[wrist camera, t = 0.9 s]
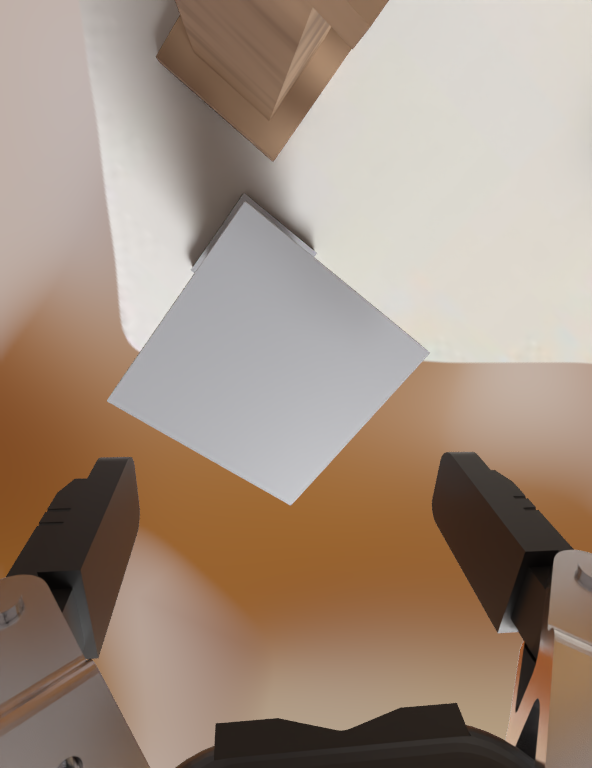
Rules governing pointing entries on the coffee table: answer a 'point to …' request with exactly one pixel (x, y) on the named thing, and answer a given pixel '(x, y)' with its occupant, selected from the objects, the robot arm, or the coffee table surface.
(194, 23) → the tall pillar
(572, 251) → the coffee table surface
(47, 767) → the robot arm
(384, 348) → the short pillar
